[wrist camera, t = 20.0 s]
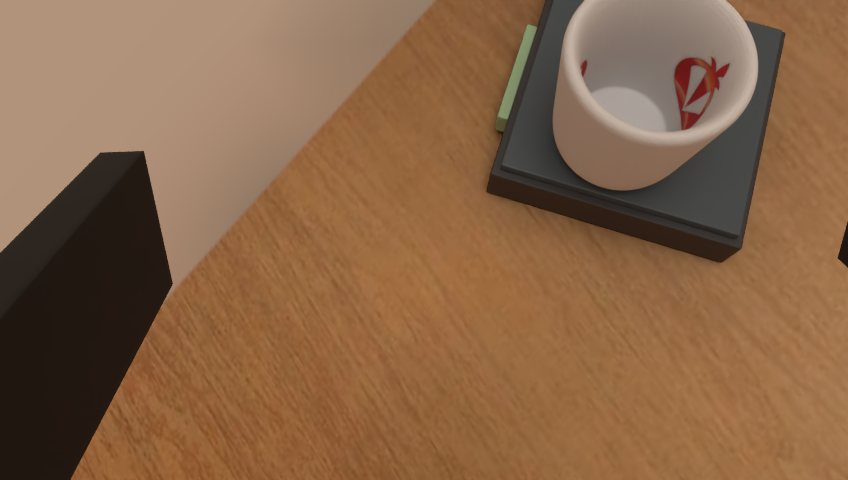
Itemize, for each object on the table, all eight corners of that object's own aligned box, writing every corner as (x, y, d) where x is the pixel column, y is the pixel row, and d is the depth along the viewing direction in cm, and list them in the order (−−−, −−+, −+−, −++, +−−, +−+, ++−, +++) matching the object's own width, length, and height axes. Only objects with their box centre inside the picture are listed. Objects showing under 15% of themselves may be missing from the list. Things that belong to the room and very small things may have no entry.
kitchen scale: (475, 189, 40) (479, 166, 37) (538, -5, 44) (547, -40, 40) (721, 263, 39) (747, 245, 36) (765, 57, 42) (791, 25, 39)
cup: (528, 23, 39) (553, -84, 32) (676, 21, 39) (736, -87, 32) (540, 212, 36) (571, 143, 28) (701, 210, 36) (775, 141, 28)
